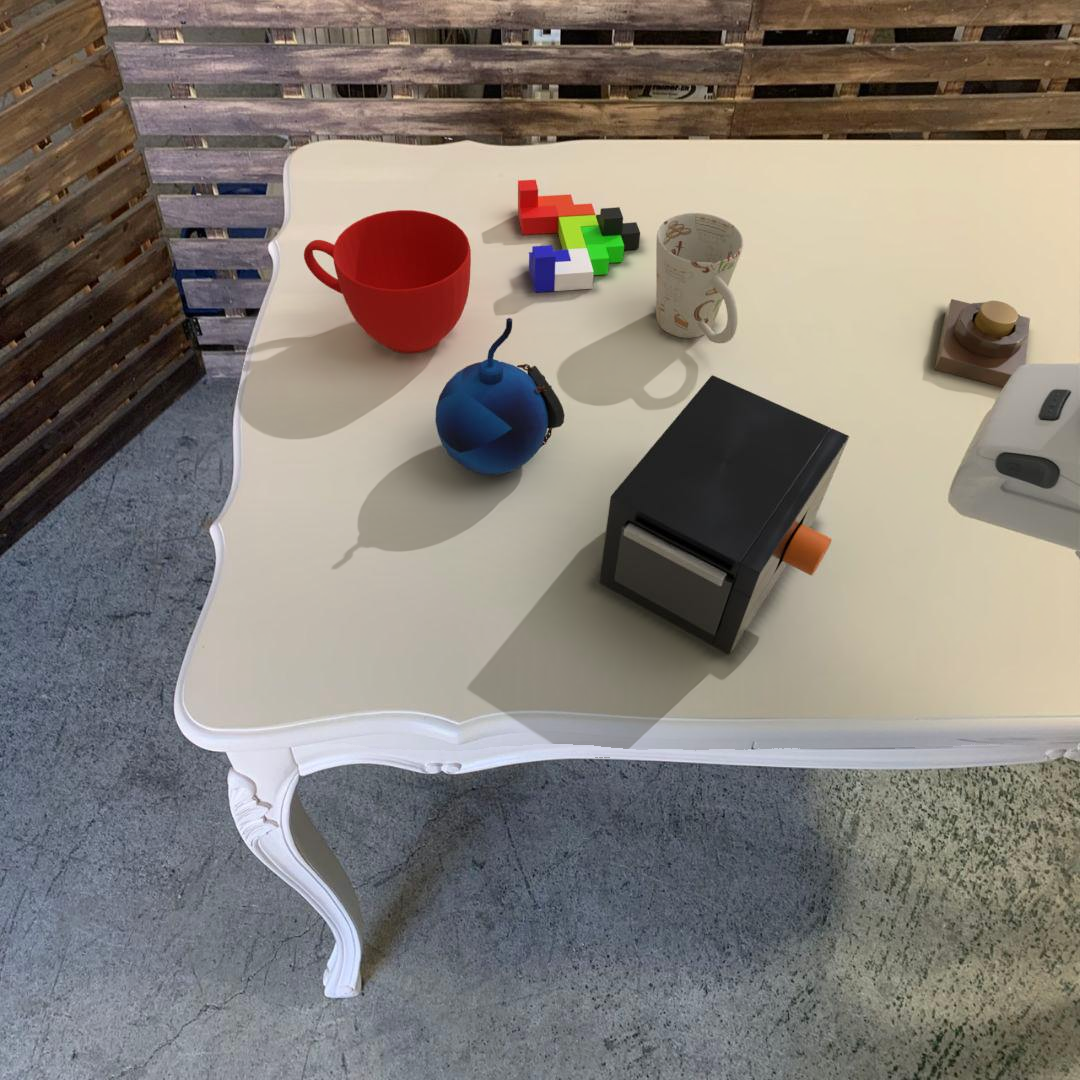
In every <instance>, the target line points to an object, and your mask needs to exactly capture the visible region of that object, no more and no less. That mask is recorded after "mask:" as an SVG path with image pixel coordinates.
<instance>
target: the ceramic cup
mask: <svg viewBox="0 0 1080 1080" xmlns="http://www.w3.org/2000/svg"><path fill="white" fill-rule="evenodd" d="M314 251H320V252H323V253H325V254H327V255H328V256H330V258H332V259H333V267H334V271H335V274H336V277H334V276H333V275H331V274H330V273H328V271H326V270H325V269H324V268H323V267H322V266H321V264H319V262H318V260H317V259H316V258H315V255H314ZM303 260H304V263H305V264H306V266H307V268H308V270H309V271H310V272H311V274H312V275H313V276H314V277H315V278H316V279H317V280H318V281H319V282H320V283H322V284H323V285H325V286H326V287H327V288H329V289H331V290H334V291H335V292H337V293H339V294H341V295H342V297H343V299H344V301H345V303H346V306H347V307H348V310H349V312H350V315H351V316H352V317H353V319H354V320H355V322H356V323H357V324H358V325H359V326H360V328H361V329H362V330H363V331H364V332H365V333H366V334H367V335H368V336H369V337H370V338H372V339H374V341H376V342H378V343H380V344H381V345H383V346H385V347H386V348H388V349H389V350H391V351H393V352H397V353H401V354H419V353H422V352H426V351H429V350H431V349H432V348H435V346H437V345H438V344H439V343H440V342H441V341H442V340H443V339H444V338H446V337H447V335H449V334H450V333H451V332H452V330H454V328H455V326H456V325H457V324H458V322H459V321H460V319H461V317H462V314H463V312H464V309H465V307H466V304H467V301H468V298H469V292H470V284H471V282H470V281H471V265H472V263H471V262H472V249H471V245H470V242H469V239H468V236H467V235H466V233H465V232H464V230H463V229H462V228H460V227H459V225H457V224H456V223H455V222H453V221H452V220H450V219H448V218H446V217H443V216H441V215H439V214H435V213H432V212H428V211H424V210H423V211H421V210H413V209H410V210H409V209H397V210H388V211H387V210H386V211H383V212H378V213H374V214H371V215H369V216H366V217H363V218H361V219H359V220H357V221H355V222H354V223H352V224H350V225H349V226H347V227H346V228H345V229H344V230H343V231H342V232H341V233H340V234H339V235H338V237H337V239H336V241H335V242H334V244H333V243H331V242H329V241H326V240H322V239H314V240H311V241H310V242H309V243H308V244H306V246H305V248H304V251H303Z"/></svg>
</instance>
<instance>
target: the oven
mask: <svg viewBox="0 0 1080 1080" xmlns="http://www.w3.org/2000/svg"><path fill="white" fill-rule="evenodd" d="M849 439H850V436H849V434H846V433H844V432H842V431H839V430H836V429H834V428H832V427H829V426H828V425H825V424H823V423H821V422H819V421H817V420H814V419H812V418H810V417H808V416H805V415H803V414H801V413H799V412H797V411H794V410H792V409H790V408H787V407H785V406H783V405H781V404H778V403H777V402H774V401H772V400H770V399H767V398H765V397H763V396H760V395H758V394H756V393H755V392H752V391H749V390H747V389H744V388H742V387H740V386H738V385H736V384H733V383H731V382H729V381H727V380H724V379H722V378H721V377H718V376H716V375H714V374H711V376H709V378H708V379H707V380H706V382H705V383H704V384H703V385H702V386H701V387H700V388H699V390H698V391H697V392H696V393H695V395H694V396H693V397H692V398H691V399H690V401H689V402H688V403H687V404H686V405H685V406H684V408H683V409H682V410H681V411H680V413H679V414H678V415H677V416H676V418H675V419H674V420H673V421H672V422H671V423H670V424H669V426H668V427H667V428H666V430H665V431H664V432H663V433H662V434H661V435H660V436H659V438H658V439H657V440H656V441H655V442H654V444H653V445H652V446H651V447H650V448H649V450H647V452H646V453H645V454H644V456H643V457H642V458H641V459H640V461H639V462H638V463H637V464H636V465H635V466H634V468H633V469H632V470H631V471H630V472H629V474H628V475H627V476H626V477H625V478H624V479H623V481H622V482H621V483H620V484H619V486H618V487H617V488H616V489H615V490H614V491H613V493H612V494H610V499H609V506H608V513H607V522H606V529H605V536H604V543H603V550H602V551H603V553H602V559H601V566H600V573H599V581H598V583H599V584H601V585H603V586H605V587H607V588H608V589H610V590H612V591H614V592H615V593H616V594H619V595H621V596H623V597H624V598H626V599H628V600H630V601H631V602H633V603H635V604H637V605H638V606H640V607H643V608H644V609H646V610H648V611H649V612H651V613H653V614H655V615H657V616H659V617H660V618H662V619H664V620H665V621H667V622H669V623H671V624H673V625H675V626H676V627H678V628H680V629H682V630H684V631H686V632H688V633H689V634H691V635H693V636H694V637H697V638H698V639H700V640H702V641H703V642H706V643H707V644H709V645H711V646H713V647H714V648H716V649H718V650H720V651H721V652H723V653H725V654H727V655H731V653H732V652H733V650H734V649H735V647H736V646H737V644H738V642H739V640H741V638H742V636H743V634H744V633H745V631H746V629H748V627H749V625H750V623H751V622H752V621H753V619H754V617H755V615H756V614H757V612H758V611H759V609H760V608H761V606H762V604H763V603H764V601H765V600H766V598H767V597H768V595H769V594H770V592H771V590H772V589H773V587H774V586H775V584H776V583H777V581H778V579H779V578H780V576H781V575H782V573H783V572H784V570H785V569H786V566H787V565H788V564H787V563H785V562H783V561H782V559H783V556H784V553H785V551H786V549H787V547H788V545H789V543H790V541H791V539H792V538H793V536H794V534H795V533H796V531H797V529H798V528H799V527H800V526H801V525H805V526H807V527H809V528H811V527H812V526H813V524H814V521H815V519H816V517H817V515H818V512H819V510H820V507H821V505H822V502H823V500H824V497H825V496H826V493H827V491H828V488H829V486H830V483H831V481H832V479H833V477H834V474H835V472H836V470H837V467H838V464H839V463H840V460H841V458H842V455H843V453H844V450H845V448H846V446H847V444H848V441H849Z"/></svg>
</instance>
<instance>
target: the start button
mask: <svg viewBox="0 0 1080 1080" xmlns="http://www.w3.org/2000/svg"><path fill="white" fill-rule="evenodd" d="M984 302H985V303H984V304H982V306H981V308H980V310H979V312H978V314H977V316H976V318H975V320H974V324H975V326H976V327H977V328H978V329H979V330H981V331H982V332H984V333H986V334H989V335H993V336H997V337H1002V336H1007V335H1008V334H1009V333H1010V332H1011V330H1012V328H1013V326H1014V325H1015V323H1016V321H1017V319H1018V314H1019V312H1018V311H1017V310H1016V309H1015V307H1013V306H1012V305H1010V304H1008V303H1006V302H1003V301H999V300H988V301H984Z"/></svg>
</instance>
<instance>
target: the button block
mask: <svg viewBox="0 0 1080 1080" xmlns="http://www.w3.org/2000/svg"><path fill="white" fill-rule="evenodd" d="M985 302H986V301H983V302H972V303H971V302H966V301H961V300H958V299H953V298H951V299H950V301H949V303H948V306H947V307H946V310H945V313H944V318H943V323H942V329H941V334H940V339H939V345H938V349H937V355H936V360H935V366H934V370H935V371H940V372H943V373H948V374H951V375H955V376H959V377H962V378H966V379H970V380H973V381H977V382H978V381H979V382H982V383H985V384H989V385H993V386H996V387H1001V388H1003V387H1004V386H1005V384H1006V383H1007V381H1008V380H1009V378H1010V377H1011V376H1012V374H1013V373H1014V372H1015V370H1016V369H1017V368H1018V367H1019V366H1022V365H1025V364H1027V363H1026V361H1027V352H1028V351H1027V350H1028V344H1029V343H1028V342H1029V341H1028V340H1029V331H1030V322H1031V318H1030V317H1028V316H1022V315H1020V314H1019V313H1018V319H1017V321H1016V323H1015V325H1014V326H1013V328H1012V330H1011V332H1010V333H1009V334H1008V335H1007V336H1002V337H997V336H993V335H989V334H986V333H984V332H982V331H981V330H979V329H978V328H977V327H976V326H975V324H974V320H975V318H976V316H977V314H978V312H979V310H980V308H981V306H982V304H984V303H985Z"/></svg>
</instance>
